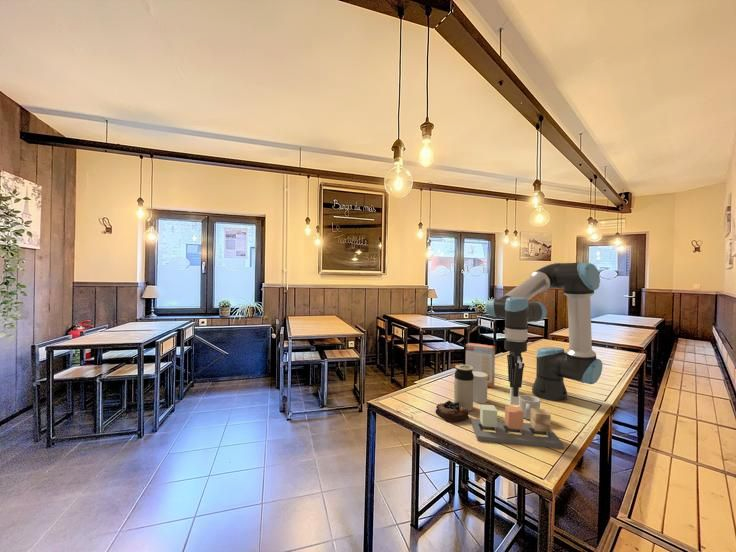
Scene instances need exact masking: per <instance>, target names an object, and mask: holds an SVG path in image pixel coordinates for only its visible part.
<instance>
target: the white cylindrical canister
mask: <svg viewBox="0 0 736 552" xmlns="http://www.w3.org/2000/svg"><path fill="white" fill-rule="evenodd" d="M472 373H473V375H474V383H473V403H476V404H485V403H487V402H488V387H487V380H488V375H487V374H486V373H483V372H478V371H473V372H472Z"/></svg>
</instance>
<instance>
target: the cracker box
mask: <svg viewBox="0 0 736 552" xmlns="http://www.w3.org/2000/svg"><path fill="white" fill-rule="evenodd" d="M495 356H496V346H494V345H488V344H481V343H474V342H468V343H466V344H465V365H469V366H472V367H473V370H472V372H473V371H478V372H483V373H486V374H487V375H488V380H487V388H493V387H494V386H495V378H496V377H495V369H496V366H495V364H496V363H495V361H496V360H495V359H496V357H495Z"/></svg>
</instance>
